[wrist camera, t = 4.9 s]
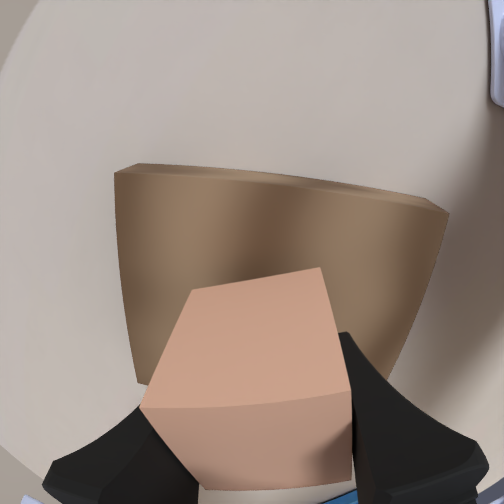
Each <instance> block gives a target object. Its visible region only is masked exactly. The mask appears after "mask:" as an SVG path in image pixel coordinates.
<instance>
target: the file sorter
mask: <svg viewBox="0 0 504 504" xmlns="http://www.w3.org/2000/svg"><path fill="white" fill-rule="evenodd" d="M323 504H358V497H357V490H356V491H353V492H351V493H349V494H346V495H344V496H341V497H339V498H336V499H334V500H331V501H329V502H326V503H323Z"/></svg>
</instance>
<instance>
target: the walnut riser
mask: <svg viewBox="0 0 504 504" xmlns="http://www.w3.org/2000/svg"><path fill="white" fill-rule="evenodd" d="M114 187H115V215H116V232H117V246H118V258H119V268H120V278H121V286H122V294H123V302H124V309H125V316H126V323H127V329H128V335H129V341H130V346H131V352H132V357H133V362H134V367H135V372H136V377H137V382H138V383H140V384H144V385H149V383H150V381H151V378H152V376H153V374H154V372H155V369H156V367H157V365H158V363H159V360H160V358H161V356H162V354H163V351H164V349H165V347H166V345H167V342H168V340H169V338H170V336H171V334H172V331H173V329H174V327H175V325H176V323H177V321H178V318H179V316H180V314H181V312H182V310H183V308H184V306H185V303H186V301H187V299H188V297H189V295H190V293H191V291H192V290H193V289H199V288H205V287H211V286H217V285H223V284H229V283H235V282H241V281H246V280H252V279H258V278H263V277H269V276H274V275H280V274H285V273H291V272H296V271H302V270H307V269H312V268H318V267H320V268H321V272H322V275H323V279H324V283H325V286H326V290H327V294H328V297H329V301H330V305H331V309H332V312H333V316H334V320H335V324H336V328H337V332H338V333H341V332H346V331H347V332H348V333H350V335H351V337H352V338H353V340H354V341H355V343H356V344H357V346H358V347H359V349H360V350H361V351H362V353H363V354H364V355H365V357H366V358H367V359H368V360H369V362H370V363H371V364H372V365H373V366H374V367H375V369H376V370H377V371H378V372H379V373H380V374H381V375H382V376H383V377H384V378H385V379H386V381H387V379H388V377H389V375H390V373H391V371H392V369H393V367H394V365H395V363H396V360H397V358H398V356H399V354H400V352H401V350H402V348H403V345H404V343H405V341H406V339H407V336H408V334H409V332H410V329H411V327H412V325H413V322H414V320H415V317H416V315H417V312H418V310H419V307H420V305H421V302H422V299H423V297H424V294H425V291H426V289H427V286H428V283H429V280H430V277H431V274H432V271H433V268H434V265H435V262H436V259H437V256H438V253H439V249H440V246H441V243H442V239H443V236H444V232H445V229H446V225H447V221H448V217H449V213H448V212H446V211H445V210H443V209H442V208H440V207H438V206H437V205H435V204H434V203H432V202H430V201H429V200H427V199H425V198H421V197H416V196H411V195H406V194H401V193H396V192H391V191H386V190H380V189H375V188H369V187H364V186H358V185H352V184H346V183H339V182H333V181H326V180H319V179H312V178H305V177H298V176H290V175H282V174H273V173H264V172H255V171H245V170H235V169H224V168H211V167H198V166H183V165H164V164H140V163H138V164H135V165H133V166H130V167H127V168H125V169H122V170H120V171H117V172H115V173H114Z"/></svg>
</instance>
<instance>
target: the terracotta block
mask: <svg viewBox="0 0 504 504" xmlns="http://www.w3.org/2000/svg"><path fill="white" fill-rule="evenodd" d="M139 408H140V410H141V411H142V412H143V414H144V415H145V417H146V418H147V419H148V421H149V422H150V424H151V425H152V426H153V428H154V429H155V430H156V432H157V433H158V434H159V435H160V437H161V438H162V439H163V441H164V442H165V443H166V444H167V446H168V447H169V448H170V449H171V451H172V452H173V453H174V454H175V456H176V457H177V458H178V459H179V460H180V462H181V463H182V464H183V465H184V466H185V467H186V469H187V470H188V471H189V472H190V473H191V474H192V475H193V477H194V478H195V479H196V480H197V481H198V482H199V483H200V484H201V485H202V486H203V488H204V489H205V490H230V491H247V490H274V489H289V488H300V487H309V486H317V485H325V484H331V483H338V482H344V481H349V480H351V475H352V403H351V388H350V383H349V379H348V374H347V370H346V365H345V361H344V357H343V353H342V348H341V344H340V340H339V336H338V332H337V328H336V324H335V320H334V316H333V312H332V309H331V305H330V301H329V297H328V294H327V290H326V286H325V283H324V279H323V275H322V272H321V268H320V267H318V268H312V269H307V270H302V271H296V272H291V273H285V274H280V275H274V276H269V277H263V278H258V279H252V280H246V281H241V282H235V283H229V284H223V285H217V286H211V287H205V288H199V289H193V290H192V291H191V293H190V295H189V297H188V299H187V301H186V303H185V306H184V308H183V310H182V312H181V314H180V316H179V318H178V321H177V323H176V325H175V327H174V329H173V331H172V334H171V336H170V338H169V340H168V342H167V345H166V347H165V349H164V351H163V354H162V356H161V358H160V360H159V363H158V365H157V367H156V369H155V372H154V374H153V376H152V378H151V381H150V383H149V385H148V388H147V390H146V392H145V395H144V397H143V399H142V402H141V404H140V406H139Z"/></svg>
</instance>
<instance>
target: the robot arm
mask: <svg viewBox="0 0 504 504" xmlns="http://www.w3.org/2000/svg"><path fill="white" fill-rule="evenodd" d="M488 5H489V15H490V29H491V90H490V93H491V98H492V100H493V102H494V103H495V104H497V105H499V106H501V107H503V108H504V0H488ZM338 336H339V340H340V344H341V348H342V353H343V357H344V361H345V365H346V370H347V374H348V379H349V383H350V388H351V403H352V454H353V462H354V470H355V478H356V487H357V497H358V504H477V503H476V500H475V499H476V498H477V497H478V493H477V490H476V486H477V485H478V484H479V482H480V481H481V480H482V479H483V478H484V476H485V475H486V473H487V472H488V470H489V464H488V461H487V459H486V456H485V455H484V453H483V451H482V449H481V448H480V446H479V445H478V443H477V442H476V441H475V440H473V439H470V438H468V437H466V436H464V435H462V434H460V433H458V432H456V431H454V430H452V429H450V428H448V427H446V426H445V425H443V424H441V423H439V422H438V421H436V420H435V419H433V418H432V417H430V416H429V415H427V414H426V413H424V412H423V411H421V410H420V409H419V408H417V407H416V406H415V405H413V404H412V403H411V402H410V401H408V400H407V399H406V398H405V397H404V396H402V395H401V394H400V393H399V392H398V391H397V390H396V389H395V388H394V387H392V386H391V385H390V384H389V383H388V382H387V381H386V379H385V378H384V377H383V376H382V375H381V374H380V373H379V372H378V371H377V370H376V369H375V367H374V366H373V365H372V364H371V363H370V362H369V360H368V359H367V358H366V357H365V355H364V354H363V353H362V351H361V350H360V349H359V347H358V346H357V344H356V343H355V341H354V340H353V338H352V337H351V335H350V333H348V332H347V331H346V332H341V333H338ZM139 406H140V405H139ZM139 406H138V407H137V408H136V409H135V410H134V411H133V412H132V413H130V414H129V415H128V416H127V417H126V418H125V419H124V420H122V421H121V422H120V423H119V424H118V425H116V426H115V427H114V428H112V429H111V430H109V431H108V432H107V433H105V434H104V435H102V436H101V437H100V438H98V439H97V440H95V441H93V442H92V443H90V444H88V445H86V446H85V447H83V448H81V449H79V450H77V451H75V452H73V453H71V454H69V455H66V456H64V457H62V458H60V459H57V460H55V461H53V463H52V465H51V467H50V469H49V471H48V473H47V475H46V477H45V479H44V481H43V483H42V486H43V488H44V490H45V491H47V492H48V493H49V494H50V495H51V496H53V497H54V498H55V499H57V500H58V501H59V502H61V503H62V504H198V491H199V482H198V481H197V480H196V479H195V478H194V477H193V475H192V474H191V473H190V472H189V471H188V470H187V469H186V467H185V466H184V465H183V464H182V463H181V462H180V460H179V459H178V458H177V457H176V456H175V454H174V453H173V452H172V451H171V449H170V448H169V447H168V446H167V444H166V443H165V442H164V441H163V439H162V438H161V437H160V435H159V434H158V433H157V432H156V430H155V429H154V428H153V426H152V425H151V424H150V422H149V421H148V419H147V418H146V417H145V415H144V414H143V412H142V411H141V410H140V408H139ZM20 504H44V503H42V502H40V501H38V500H36V499H34V498H32V497H30V496H28V495H24V497H23V499H22V501H21V503H20ZM489 504H504V496H502V497H501V498H499V499H497V500H495V501H493V502H491V503H489Z"/></svg>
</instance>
